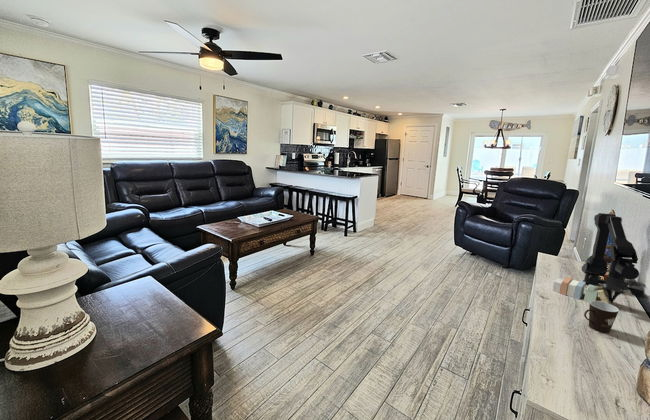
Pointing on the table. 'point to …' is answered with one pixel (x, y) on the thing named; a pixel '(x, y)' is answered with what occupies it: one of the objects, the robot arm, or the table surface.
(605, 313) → the coffee mug
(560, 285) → the book row
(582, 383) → the table surface
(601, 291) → the bookend
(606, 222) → the robot arm
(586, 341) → the table surface
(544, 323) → the table surface
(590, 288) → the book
